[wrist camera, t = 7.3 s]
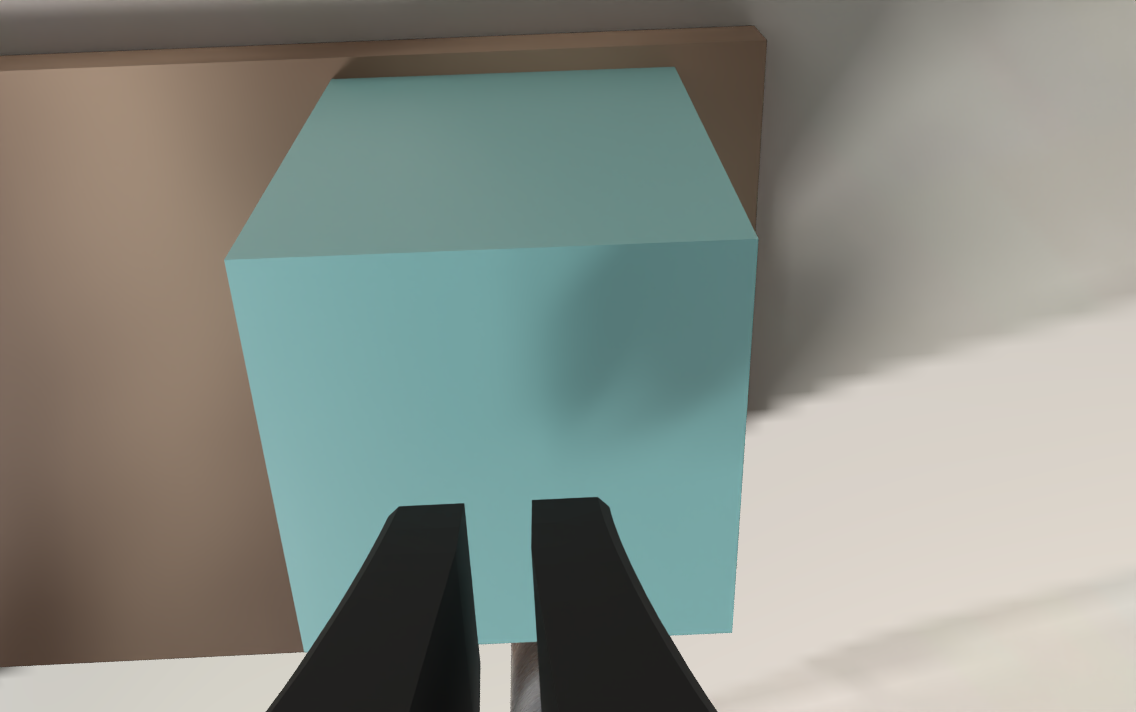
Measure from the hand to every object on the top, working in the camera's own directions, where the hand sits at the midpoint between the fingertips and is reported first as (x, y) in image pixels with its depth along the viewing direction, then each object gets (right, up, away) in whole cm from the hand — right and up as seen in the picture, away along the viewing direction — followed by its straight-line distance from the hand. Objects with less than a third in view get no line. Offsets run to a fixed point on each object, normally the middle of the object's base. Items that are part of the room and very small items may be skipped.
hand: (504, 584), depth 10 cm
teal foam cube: (0, +4, +7) cm, 8 cm away
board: (-4, +2, +10) cm, 10 cm away
